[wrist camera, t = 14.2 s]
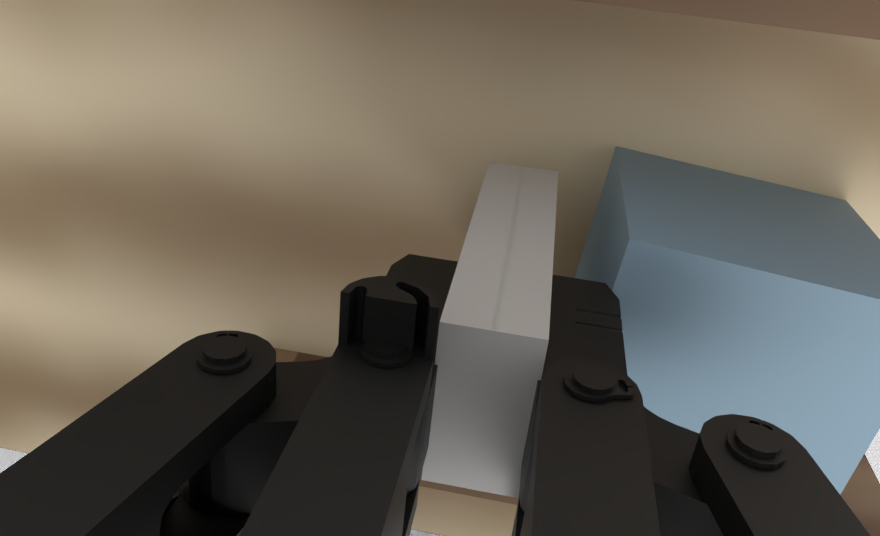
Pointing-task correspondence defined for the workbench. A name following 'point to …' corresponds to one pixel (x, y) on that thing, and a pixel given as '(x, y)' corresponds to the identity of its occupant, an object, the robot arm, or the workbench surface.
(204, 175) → the tan flat ridged piece
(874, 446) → the workbench surface
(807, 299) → the block
